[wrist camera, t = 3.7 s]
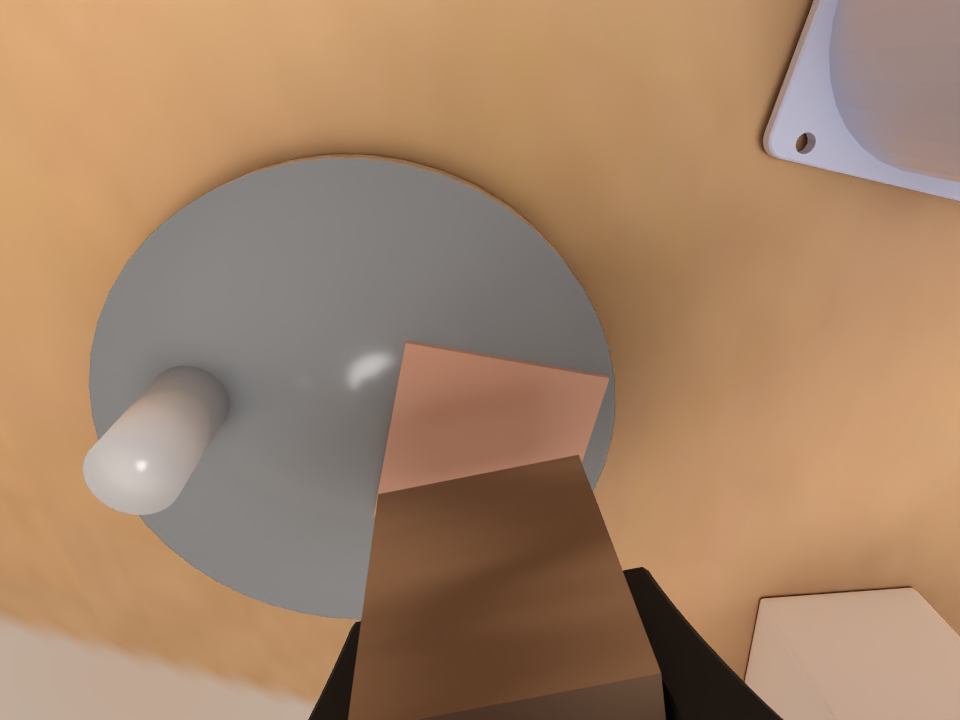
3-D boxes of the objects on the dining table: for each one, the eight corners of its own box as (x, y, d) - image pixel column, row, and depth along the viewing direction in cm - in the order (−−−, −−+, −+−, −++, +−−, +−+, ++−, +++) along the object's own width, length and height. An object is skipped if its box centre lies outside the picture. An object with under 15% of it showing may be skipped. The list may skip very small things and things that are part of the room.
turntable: (670, 217, 17) (749, 265, 13) (538, 613, 22) (562, 741, 18) (107, 95, 15) (-25, 104, 11) (112, 563, 20) (25, 694, 16)
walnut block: (578, 454, 13) (660, 672, 8) (600, 605, 14) (679, 857, 10) (378, 494, 13) (346, 732, 8) (423, 639, 14) (418, 905, 10)
